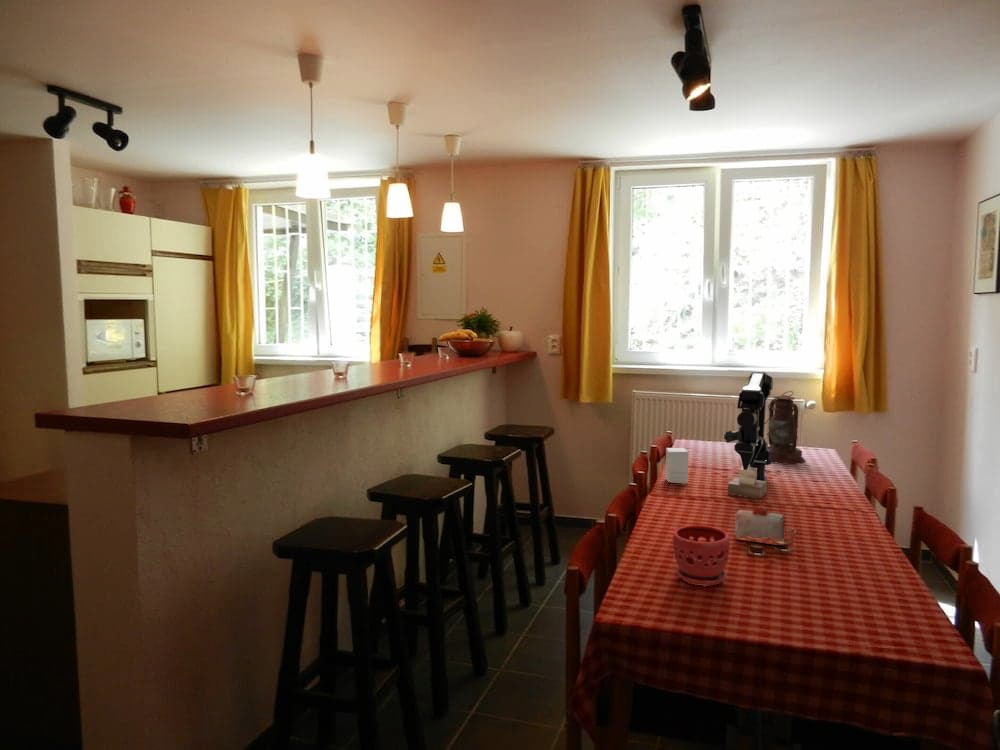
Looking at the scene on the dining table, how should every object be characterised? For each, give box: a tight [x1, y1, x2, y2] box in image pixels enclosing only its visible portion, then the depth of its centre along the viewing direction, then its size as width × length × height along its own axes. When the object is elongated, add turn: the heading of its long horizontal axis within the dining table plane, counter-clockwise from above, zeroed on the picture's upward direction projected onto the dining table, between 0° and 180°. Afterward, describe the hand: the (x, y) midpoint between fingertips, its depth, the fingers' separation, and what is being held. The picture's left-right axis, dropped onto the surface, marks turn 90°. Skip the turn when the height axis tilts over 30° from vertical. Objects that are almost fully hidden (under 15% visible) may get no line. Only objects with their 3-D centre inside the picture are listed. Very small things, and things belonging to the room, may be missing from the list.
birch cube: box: [738, 465, 757, 485], centre depth 246 cm, size 5×5×5 cm
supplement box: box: [665, 447, 689, 483], centre depth 262 cm, size 7×7×13 cm
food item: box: [734, 505, 786, 539], centre depth 196 cm, size 14×8×10 cm, turn 65°
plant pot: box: [672, 524, 730, 585], centre depth 168 cm, size 13×13×12 cm
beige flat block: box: [727, 476, 768, 500], centre depth 246 cm, size 11×11×4 cm
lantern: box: [765, 390, 806, 465], centre depth 301 cm, size 19×19×30 cm
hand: (748, 467), depth 246 cm, fingers open, 9 cm apart
